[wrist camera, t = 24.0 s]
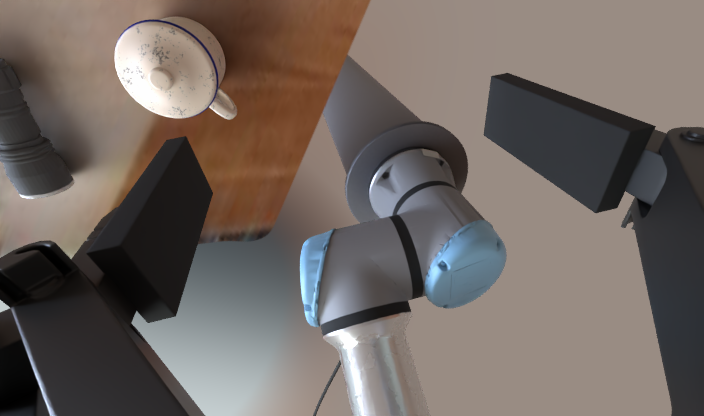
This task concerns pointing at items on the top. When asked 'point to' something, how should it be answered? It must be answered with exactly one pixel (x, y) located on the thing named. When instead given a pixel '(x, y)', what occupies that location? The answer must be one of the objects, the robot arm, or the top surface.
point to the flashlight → (27, 145)
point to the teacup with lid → (173, 68)
